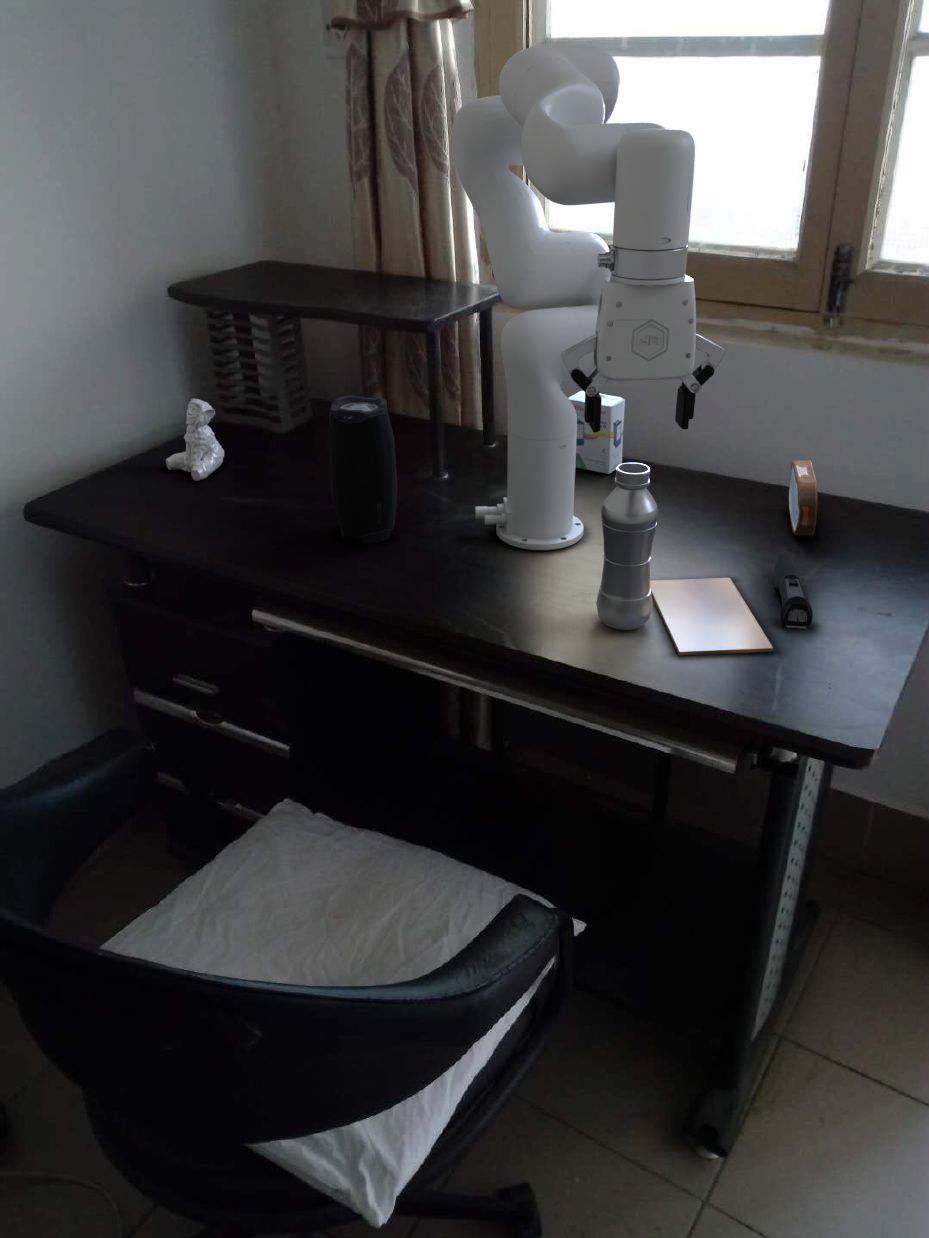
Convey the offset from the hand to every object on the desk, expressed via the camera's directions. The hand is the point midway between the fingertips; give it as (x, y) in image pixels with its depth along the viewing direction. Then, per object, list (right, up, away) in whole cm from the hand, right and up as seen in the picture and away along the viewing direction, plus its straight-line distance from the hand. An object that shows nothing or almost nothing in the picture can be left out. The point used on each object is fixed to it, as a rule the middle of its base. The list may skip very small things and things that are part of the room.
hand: (637, 427), depth 111 cm
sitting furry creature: (-64, +4, +61) cm, 88 cm away
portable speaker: (-33, -9, +36) cm, 50 cm away
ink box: (+2, +4, +59) cm, 59 cm away
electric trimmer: (+22, -19, +17) cm, 34 cm away
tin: (+30, -7, +37) cm, 48 cm away
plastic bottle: (0, -22, +12) cm, 25 cm away
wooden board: (+11, -21, +14) cm, 27 cm away
